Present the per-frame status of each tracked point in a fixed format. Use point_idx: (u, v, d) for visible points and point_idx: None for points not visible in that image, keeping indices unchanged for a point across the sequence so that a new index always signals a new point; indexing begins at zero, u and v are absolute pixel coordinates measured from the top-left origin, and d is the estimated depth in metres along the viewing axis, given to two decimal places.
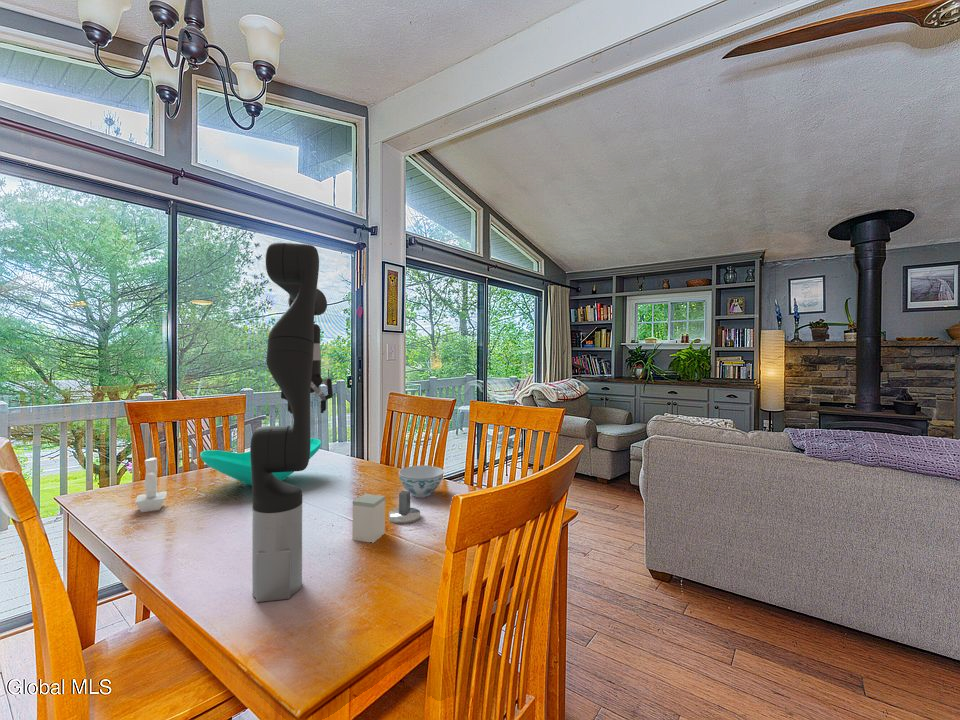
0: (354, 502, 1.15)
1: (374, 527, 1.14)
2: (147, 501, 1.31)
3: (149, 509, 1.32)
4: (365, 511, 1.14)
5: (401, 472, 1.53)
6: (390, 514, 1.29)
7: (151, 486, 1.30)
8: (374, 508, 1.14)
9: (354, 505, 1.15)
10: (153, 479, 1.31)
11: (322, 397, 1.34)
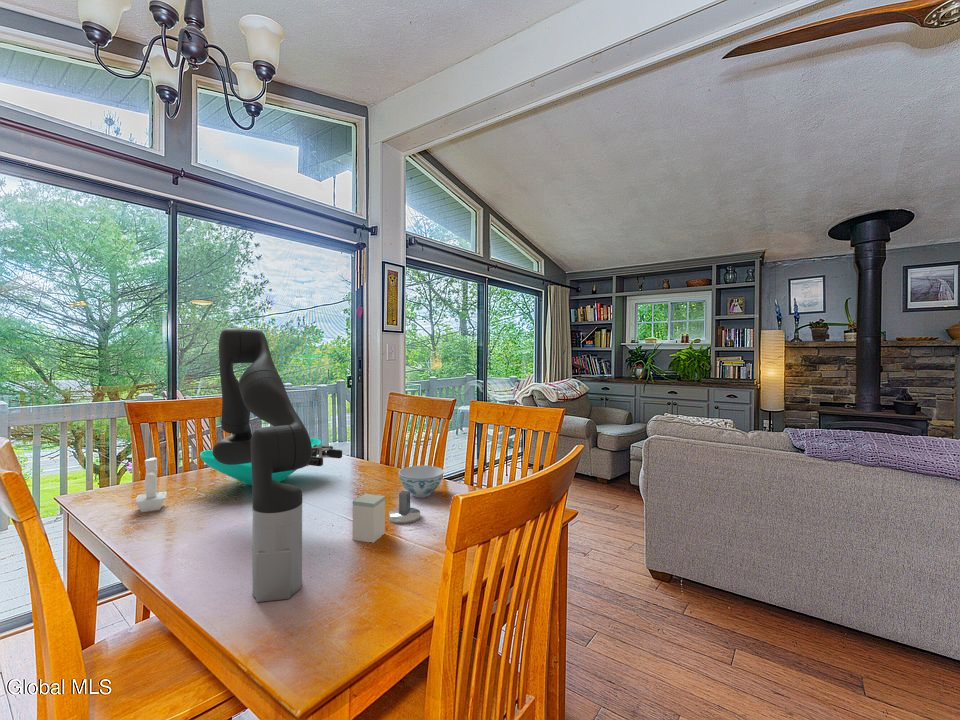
0: (354, 502, 1.15)
1: (374, 527, 1.14)
2: (147, 501, 1.31)
3: (149, 509, 1.32)
4: (365, 511, 1.14)
5: (401, 472, 1.53)
6: (390, 514, 1.29)
7: (151, 486, 1.30)
8: (374, 508, 1.14)
9: (354, 505, 1.15)
10: (153, 479, 1.31)
11: (326, 448, 1.25)
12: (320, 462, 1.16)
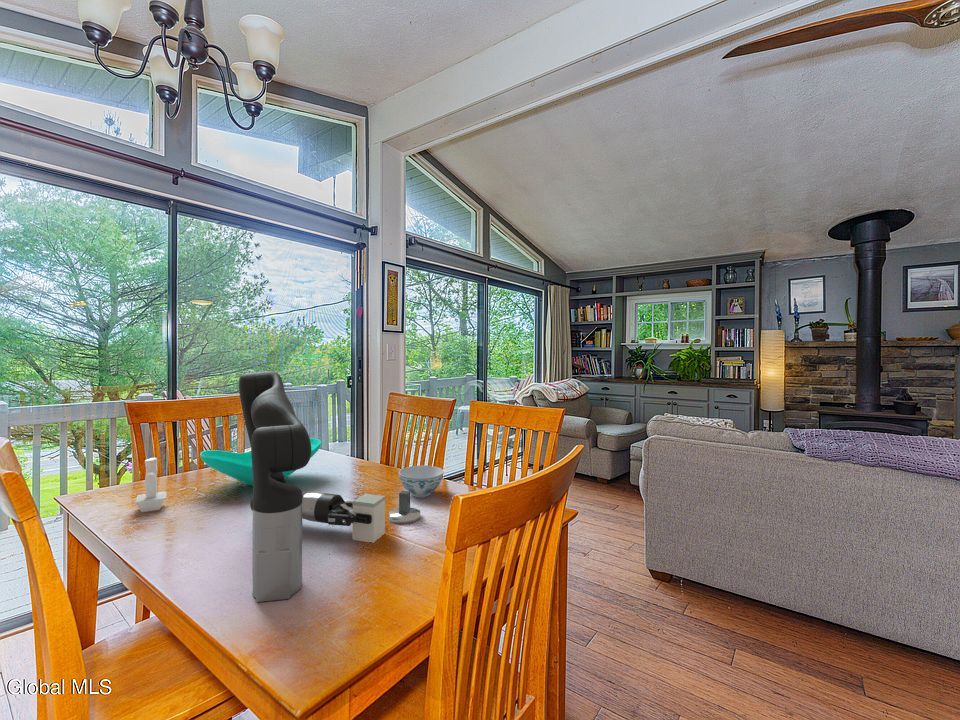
0: (354, 502, 1.15)
1: (374, 527, 1.14)
2: (147, 501, 1.31)
3: (149, 509, 1.32)
4: (365, 511, 1.14)
5: (401, 472, 1.53)
6: (390, 514, 1.29)
7: (151, 486, 1.30)
8: (374, 508, 1.14)
9: (354, 505, 1.15)
10: (153, 479, 1.31)
11: None
12: (369, 520, 1.13)
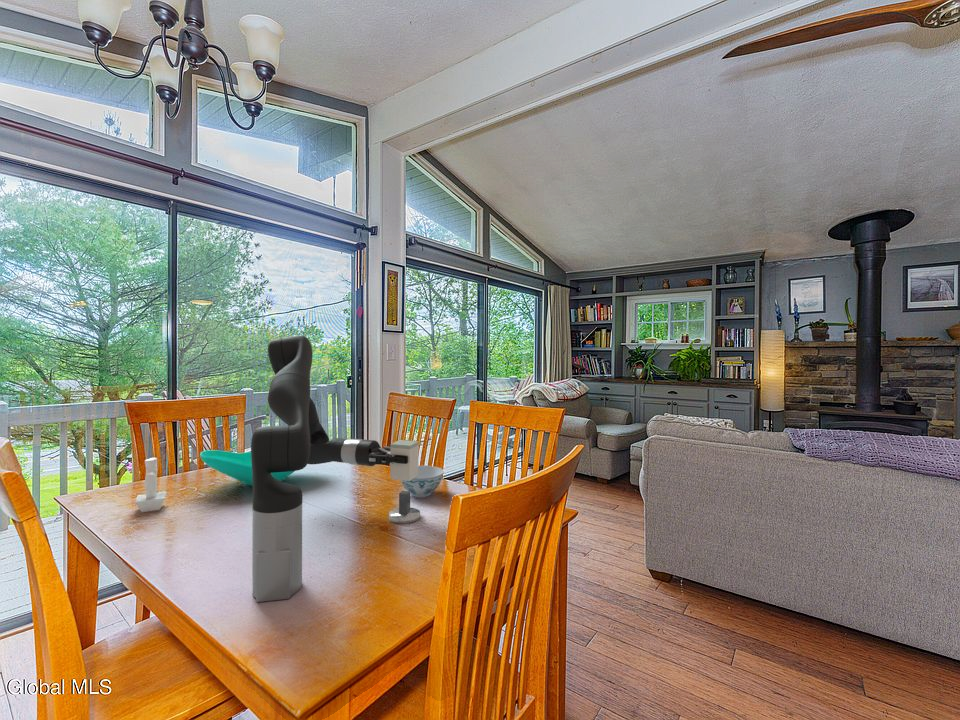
0: (392, 445, 1.28)
1: (410, 467, 1.27)
2: (147, 501, 1.31)
3: (149, 509, 1.32)
4: (402, 453, 1.27)
5: None
6: (390, 514, 1.29)
7: (151, 486, 1.30)
8: (410, 450, 1.27)
9: (392, 447, 1.28)
10: (153, 479, 1.31)
11: None
12: (406, 460, 1.26)
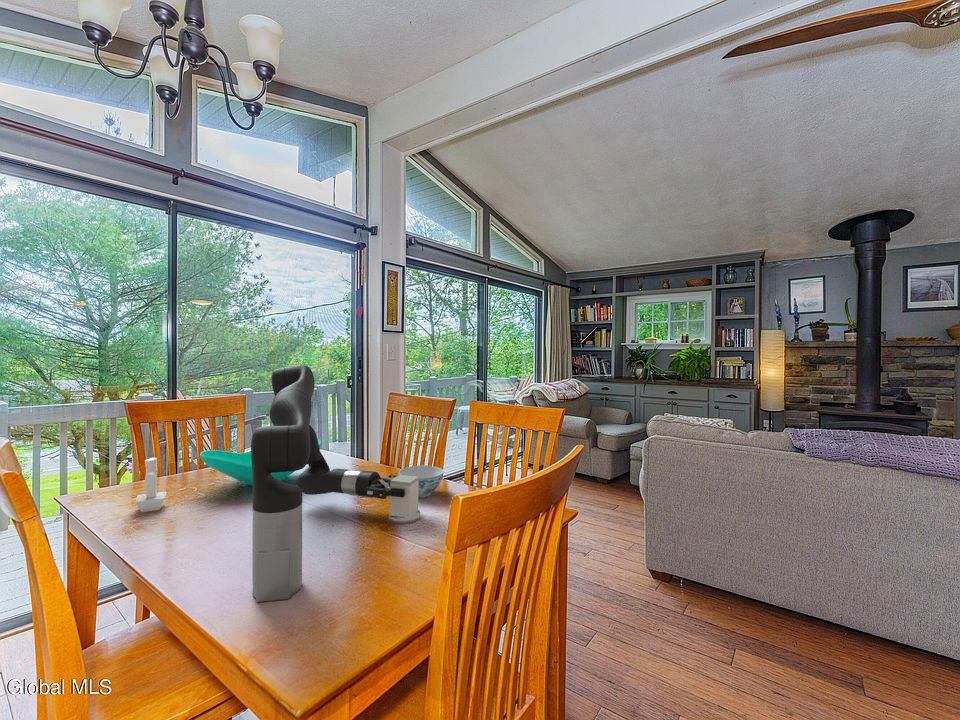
0: (392, 481, 1.28)
1: (410, 504, 1.27)
2: (147, 501, 1.31)
3: (149, 509, 1.32)
4: None
5: (401, 472, 1.53)
6: None
7: (151, 486, 1.30)
8: (410, 486, 1.27)
9: (392, 484, 1.28)
10: (153, 479, 1.31)
11: None
12: (402, 493, 1.25)
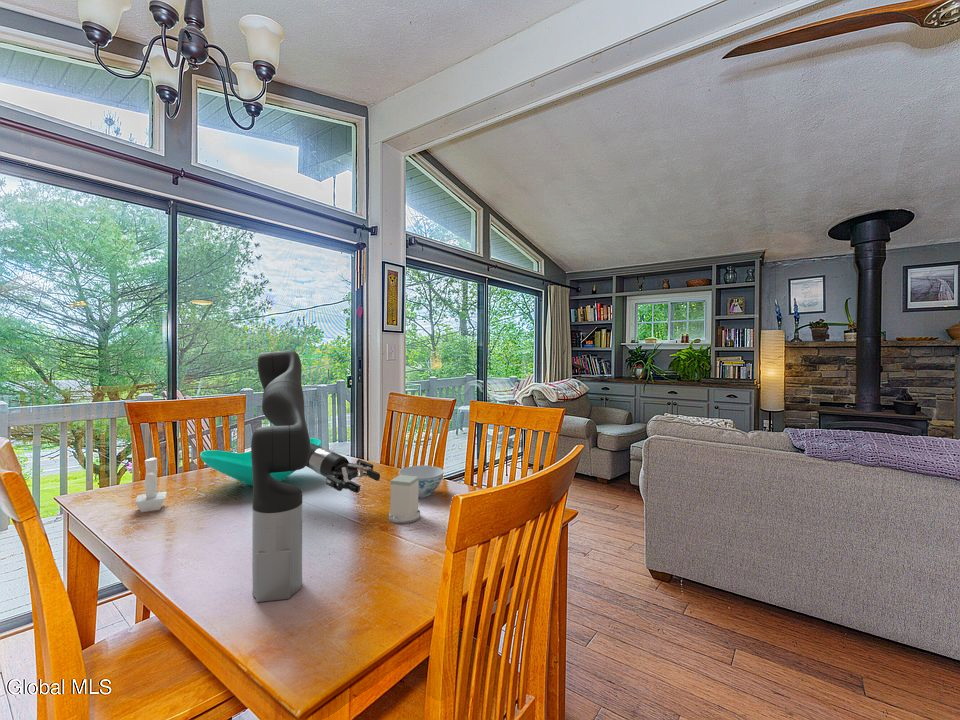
0: (392, 481, 1.28)
1: (410, 504, 1.27)
2: (147, 501, 1.31)
3: (149, 509, 1.32)
4: (402, 489, 1.27)
5: (401, 472, 1.53)
6: None
7: (151, 486, 1.30)
8: (410, 486, 1.27)
9: (392, 484, 1.28)
10: (153, 479, 1.31)
11: (367, 468, 1.36)
12: (357, 489, 1.27)
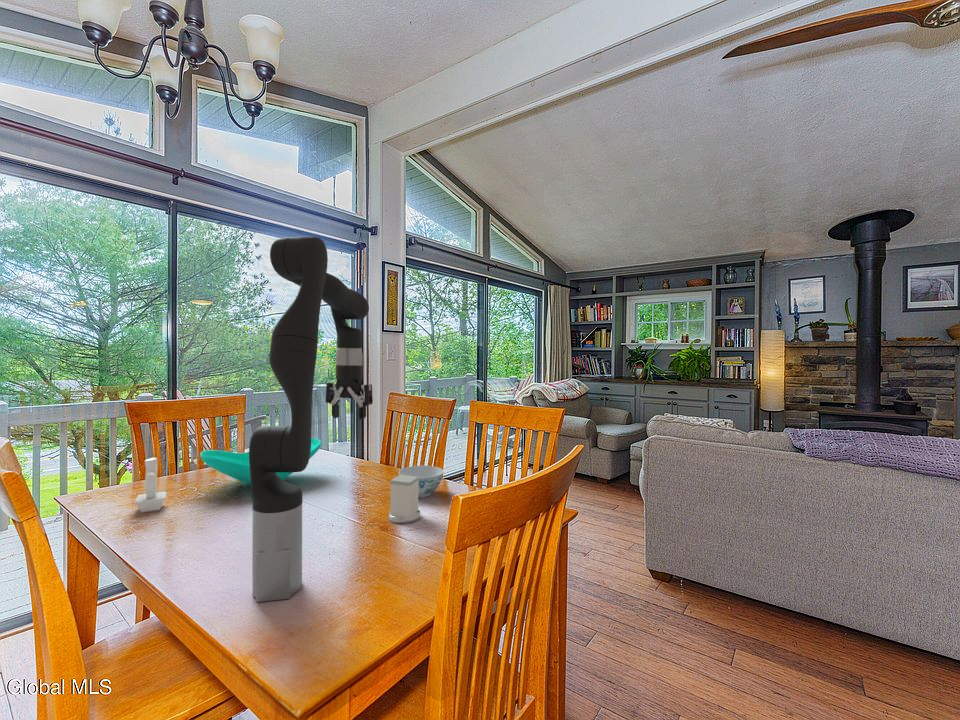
0: (392, 481, 1.28)
1: (410, 504, 1.27)
2: (147, 501, 1.31)
3: (149, 509, 1.32)
4: (402, 489, 1.27)
5: (401, 472, 1.53)
6: None
7: (151, 486, 1.30)
8: (410, 486, 1.27)
9: (392, 484, 1.28)
10: (153, 479, 1.31)
11: (359, 403, 1.30)
12: None
